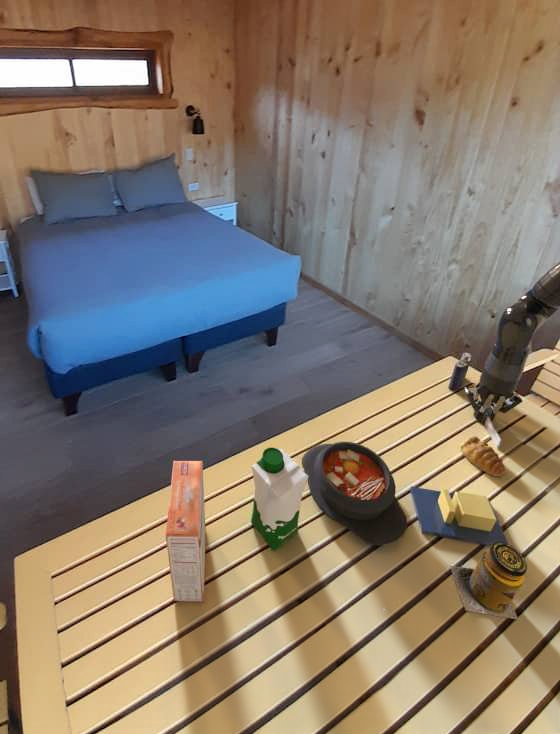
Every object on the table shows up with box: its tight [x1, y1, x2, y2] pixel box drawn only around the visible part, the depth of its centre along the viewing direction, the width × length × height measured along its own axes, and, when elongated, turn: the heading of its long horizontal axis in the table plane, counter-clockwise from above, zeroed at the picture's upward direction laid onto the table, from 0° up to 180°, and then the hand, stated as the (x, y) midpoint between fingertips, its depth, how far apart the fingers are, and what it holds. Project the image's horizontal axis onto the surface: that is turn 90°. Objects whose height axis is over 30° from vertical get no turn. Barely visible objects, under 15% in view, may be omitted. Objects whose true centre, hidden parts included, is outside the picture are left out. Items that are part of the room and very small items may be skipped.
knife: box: [473, 407, 503, 449], centre depth 106 cm, size 13×2×3 cm, turn 168°
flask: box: [447, 352, 473, 392], centre depth 120 cm, size 9×3×11 cm, turn 133°
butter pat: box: [438, 488, 456, 524], centre depth 85 cm, size 1×5×4 cm, turn 168°
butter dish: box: [409, 486, 509, 547], centre depth 85 cm, size 16×10×5 cm, turn 78°
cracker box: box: [165, 460, 206, 603], centre depth 75 cm, size 14×6×21 cm, turn 178°
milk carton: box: [250, 447, 308, 552], centre depth 80 cm, size 9×9×20 cm
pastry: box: [459, 435, 506, 477], centre depth 97 cm, size 9×7×4 cm
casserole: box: [301, 441, 409, 546], centre depth 89 cm, size 25×19×8 cm
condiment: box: [449, 542, 528, 620], centre depth 71 cm, size 7×8×12 cm
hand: (482, 419), depth 109 cm, fingers closed on knife, 1 cm apart
